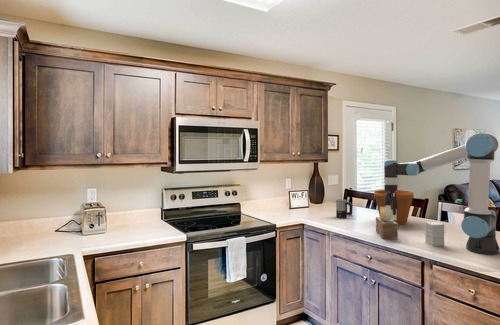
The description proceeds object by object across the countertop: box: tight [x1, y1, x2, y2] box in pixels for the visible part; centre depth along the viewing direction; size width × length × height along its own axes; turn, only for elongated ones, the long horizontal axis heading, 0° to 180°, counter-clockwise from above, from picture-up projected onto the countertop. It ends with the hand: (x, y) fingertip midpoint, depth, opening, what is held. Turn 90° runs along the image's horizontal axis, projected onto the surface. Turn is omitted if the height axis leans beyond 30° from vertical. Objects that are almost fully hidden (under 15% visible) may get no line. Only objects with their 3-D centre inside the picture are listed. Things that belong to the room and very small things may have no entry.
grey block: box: [384, 218, 393, 223], centre depth 208 cm, size 7×4×11 cm, turn 171°
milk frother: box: [335, 199, 354, 219], centre depth 274 cm, size 14×16×15 cm
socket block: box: [375, 216, 399, 240], centre depth 214 cm, size 19×9×10 cm, turn 171°
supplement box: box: [424, 221, 445, 247], centre depth 191 cm, size 7×7×13 cm
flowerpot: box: [373, 189, 415, 226], centre depth 250 cm, size 28×28×24 cm
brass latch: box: [379, 207, 391, 219], centre depth 215 cm, size 1×7×8 cm, turn 80°
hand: (390, 217), depth 202 cm, fingers open, 13 cm apart
